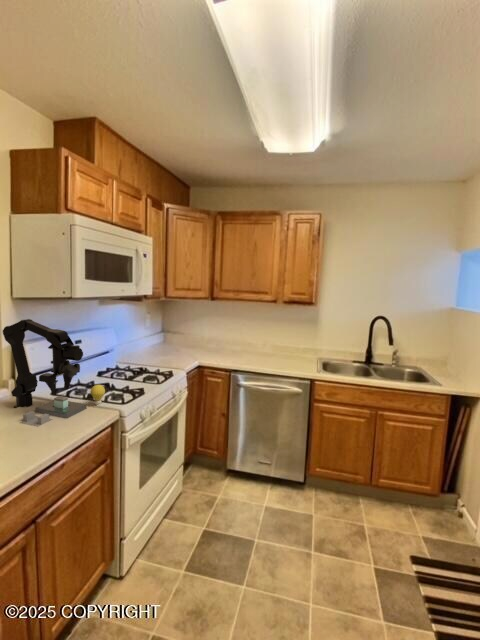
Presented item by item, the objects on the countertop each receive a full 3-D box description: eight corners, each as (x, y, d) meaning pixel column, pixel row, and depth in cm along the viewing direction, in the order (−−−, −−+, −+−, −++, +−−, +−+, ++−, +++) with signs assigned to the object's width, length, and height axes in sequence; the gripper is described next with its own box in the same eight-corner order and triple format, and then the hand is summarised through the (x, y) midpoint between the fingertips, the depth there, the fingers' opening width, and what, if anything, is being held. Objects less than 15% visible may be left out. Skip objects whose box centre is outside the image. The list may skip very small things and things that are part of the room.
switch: (35, 413, 162) (35, 407, 161) (56, 404, 173) (55, 398, 173) (67, 420, 157) (67, 413, 156) (86, 410, 168) (86, 403, 167)
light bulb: (100, 407, 172) (99, 387, 170) (87, 406, 173) (87, 386, 172) (107, 402, 178) (107, 383, 177) (96, 401, 179) (95, 382, 178)
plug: (54, 412, 164) (54, 398, 163) (59, 410, 167) (59, 396, 166) (63, 414, 163) (63, 399, 162) (68, 411, 166) (67, 397, 165)
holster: (19, 424, 150) (18, 416, 150) (35, 417, 158) (34, 409, 157) (37, 428, 148) (37, 419, 147) (53, 421, 155) (52, 412, 155)
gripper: (58, 365, 150) (59, 400, 152) (88, 356, 168) (89, 387, 170) (37, 362, 153) (38, 397, 155) (69, 353, 171) (70, 384, 173)
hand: (60, 391), depth 163 cm, fingers open, 7 cm apart
